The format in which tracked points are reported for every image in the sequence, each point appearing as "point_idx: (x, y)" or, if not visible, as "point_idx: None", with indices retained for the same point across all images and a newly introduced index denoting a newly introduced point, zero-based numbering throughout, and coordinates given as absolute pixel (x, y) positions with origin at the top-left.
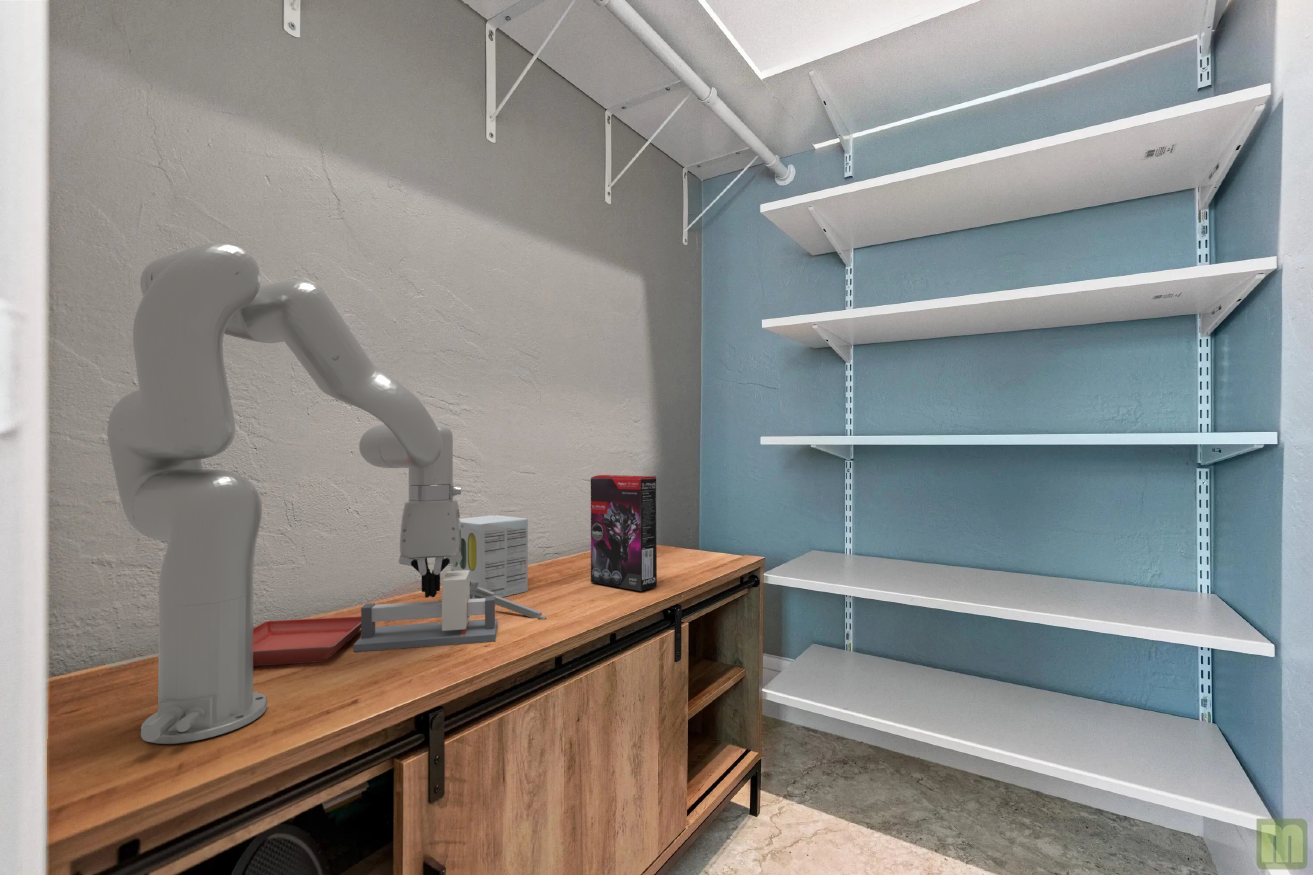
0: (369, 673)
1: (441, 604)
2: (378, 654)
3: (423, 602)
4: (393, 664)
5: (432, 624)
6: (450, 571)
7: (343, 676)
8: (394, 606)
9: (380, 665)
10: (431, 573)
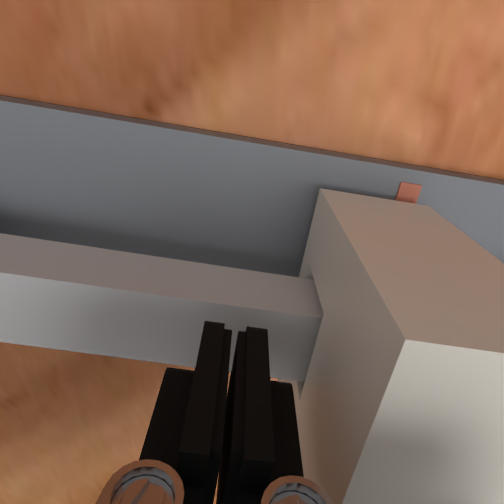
0: (88, 479)
1: (287, 377)
2: (74, 361)
3: (186, 314)
4: (138, 447)
5: (244, 171)
6: (431, 362)
7: (27, 476)
8: (28, 338)
9: (103, 442)
10: (220, 460)
